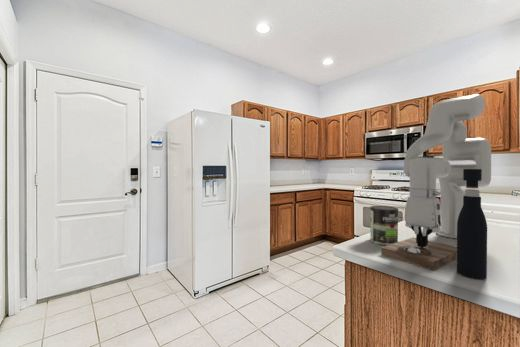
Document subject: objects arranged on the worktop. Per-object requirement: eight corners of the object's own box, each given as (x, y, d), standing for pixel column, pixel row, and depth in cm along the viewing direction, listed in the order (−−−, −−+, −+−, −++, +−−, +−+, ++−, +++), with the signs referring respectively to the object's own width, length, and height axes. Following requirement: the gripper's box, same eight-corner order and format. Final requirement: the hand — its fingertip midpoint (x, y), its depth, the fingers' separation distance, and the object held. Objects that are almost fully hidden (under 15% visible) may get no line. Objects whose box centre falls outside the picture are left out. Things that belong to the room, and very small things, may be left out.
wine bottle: (492, 280, 64) (494, 169, 64) (465, 278, 66) (467, 169, 65) (475, 270, 71) (477, 168, 70) (451, 269, 72) (452, 169, 71)
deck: (413, 243, 96) (413, 237, 96) (462, 255, 83) (462, 248, 83) (381, 254, 85) (381, 247, 84) (433, 270, 71) (433, 262, 71)
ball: (403, 253, 81) (408, 258, 83) (416, 257, 77) (421, 262, 79) (406, 242, 82) (411, 247, 84) (419, 245, 79) (424, 251, 80)
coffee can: (404, 244, 95) (404, 209, 95) (380, 246, 93) (380, 210, 93) (386, 237, 105) (386, 205, 105) (365, 238, 104) (365, 206, 103)
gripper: (453, 194, 79) (452, 250, 79) (405, 191, 92) (405, 239, 92) (442, 196, 75) (442, 254, 75) (394, 192, 88) (394, 242, 88)
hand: (421, 246), depth 84 cm, fingers closed
